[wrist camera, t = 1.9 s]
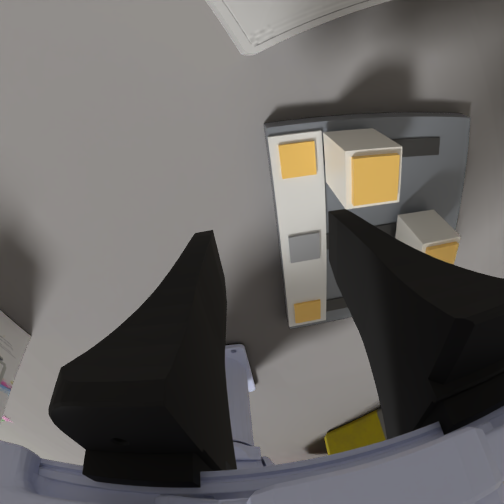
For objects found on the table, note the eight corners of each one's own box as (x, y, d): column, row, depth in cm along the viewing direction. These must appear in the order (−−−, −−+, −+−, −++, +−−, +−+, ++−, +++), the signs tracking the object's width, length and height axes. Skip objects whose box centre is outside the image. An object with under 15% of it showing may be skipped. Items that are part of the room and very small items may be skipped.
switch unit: (287, 318, 27) (290, 332, 25) (263, 123, 18) (267, 129, 16) (432, 287, 27) (440, 298, 25) (460, 113, 17) (473, 119, 16)
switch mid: (393, 251, 22) (416, 285, 18) (397, 214, 20) (425, 246, 17) (427, 244, 22) (453, 276, 18) (433, 209, 20) (463, 239, 17)
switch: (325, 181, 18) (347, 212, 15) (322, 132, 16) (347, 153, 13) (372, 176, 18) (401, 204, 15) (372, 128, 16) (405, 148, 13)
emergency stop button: (272, 451, 46) (283, 532, 33) (410, 389, 38) (444, 480, 26) (317, 463, 53) (329, 528, 41) (430, 411, 46) (456, 480, 33)
